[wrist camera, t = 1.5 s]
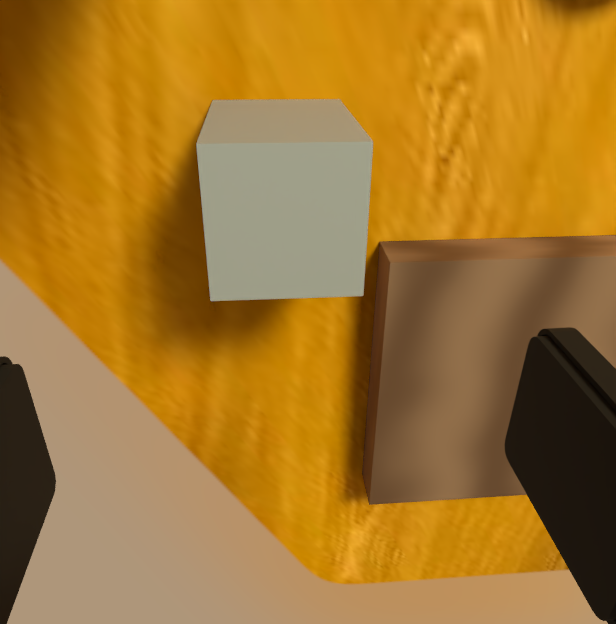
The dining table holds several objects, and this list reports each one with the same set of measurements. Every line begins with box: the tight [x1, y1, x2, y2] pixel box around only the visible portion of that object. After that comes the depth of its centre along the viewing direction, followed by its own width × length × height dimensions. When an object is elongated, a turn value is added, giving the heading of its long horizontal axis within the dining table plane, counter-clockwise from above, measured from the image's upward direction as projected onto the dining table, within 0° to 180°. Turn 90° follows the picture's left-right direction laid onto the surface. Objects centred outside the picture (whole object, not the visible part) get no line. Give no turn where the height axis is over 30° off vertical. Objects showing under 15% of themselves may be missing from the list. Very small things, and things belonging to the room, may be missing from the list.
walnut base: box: [362, 235, 616, 505], centre depth 32 cm, size 16×16×2 cm
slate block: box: [196, 99, 373, 301], centre depth 22 cm, size 6×6×8 cm
